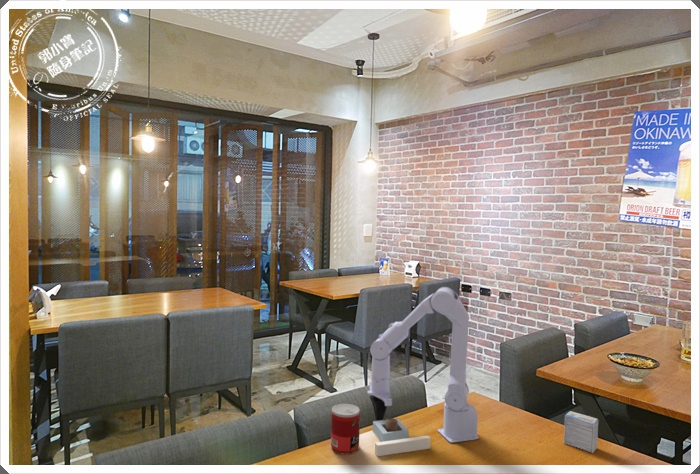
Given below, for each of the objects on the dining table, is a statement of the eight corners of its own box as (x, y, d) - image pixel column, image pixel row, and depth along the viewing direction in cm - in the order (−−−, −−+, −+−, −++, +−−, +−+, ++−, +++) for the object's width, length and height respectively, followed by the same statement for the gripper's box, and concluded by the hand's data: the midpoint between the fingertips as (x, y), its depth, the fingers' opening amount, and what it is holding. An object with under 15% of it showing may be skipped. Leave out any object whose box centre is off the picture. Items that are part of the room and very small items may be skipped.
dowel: (394, 434, 135) (394, 417, 135) (398, 439, 132) (399, 422, 132) (383, 435, 134) (384, 418, 134) (388, 440, 131) (388, 423, 131)
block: (397, 427, 139) (397, 418, 139) (408, 440, 132) (408, 430, 131) (372, 431, 137) (373, 421, 137) (382, 444, 129) (382, 433, 129)
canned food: (356, 456, 122) (357, 416, 122) (327, 452, 124) (328, 413, 123) (361, 442, 130) (362, 405, 129) (334, 439, 131) (335, 402, 131)
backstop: (427, 445, 129) (427, 435, 129) (430, 448, 127) (430, 438, 127) (374, 453, 124) (375, 442, 124) (376, 456, 122) (377, 445, 122)
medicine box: (597, 448, 130) (599, 418, 129) (593, 454, 126) (594, 423, 126) (568, 438, 135) (569, 410, 135) (563, 444, 132) (564, 414, 131)
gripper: (360, 370, 148) (359, 411, 148) (376, 386, 134) (375, 431, 134) (381, 368, 150) (379, 408, 150) (398, 384, 136) (397, 428, 137)
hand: (379, 419), depth 143 cm, fingers closed
